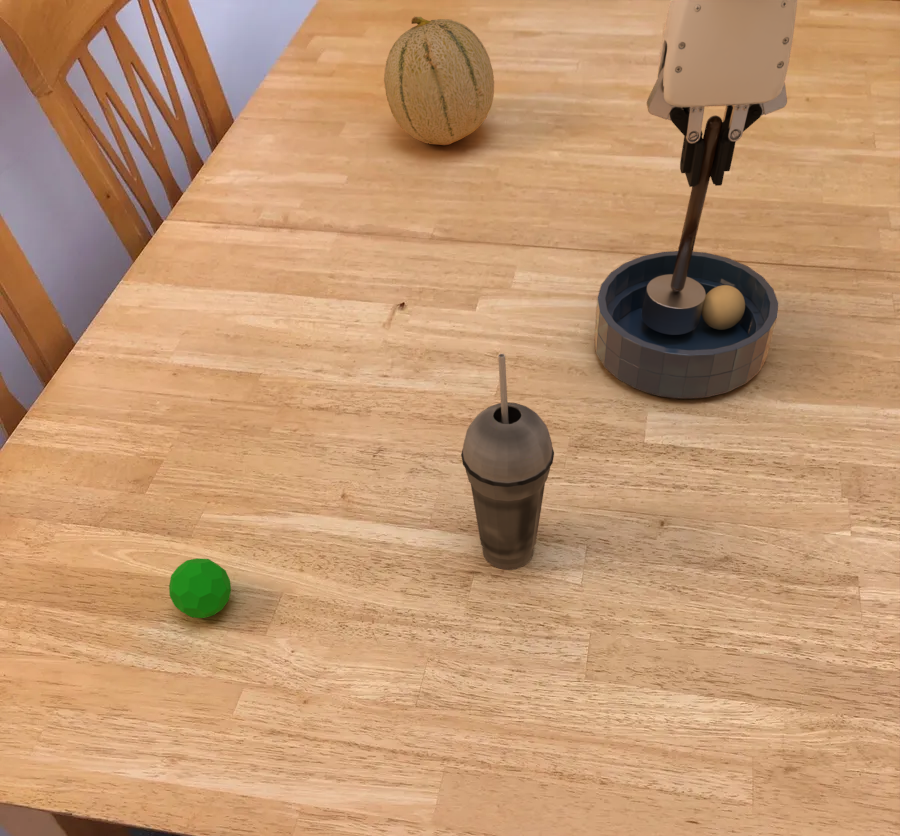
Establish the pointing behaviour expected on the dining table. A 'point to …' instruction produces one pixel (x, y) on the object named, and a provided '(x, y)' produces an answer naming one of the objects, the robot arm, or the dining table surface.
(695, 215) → the weighted rod stand
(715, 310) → the yellow ball
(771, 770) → the dining table surface
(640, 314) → the bowl
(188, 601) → the polyhedron
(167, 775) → the dining table surface
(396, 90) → the cantaloupe
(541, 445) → the beverage cup
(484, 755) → the dining table surface
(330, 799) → the dining table surface
